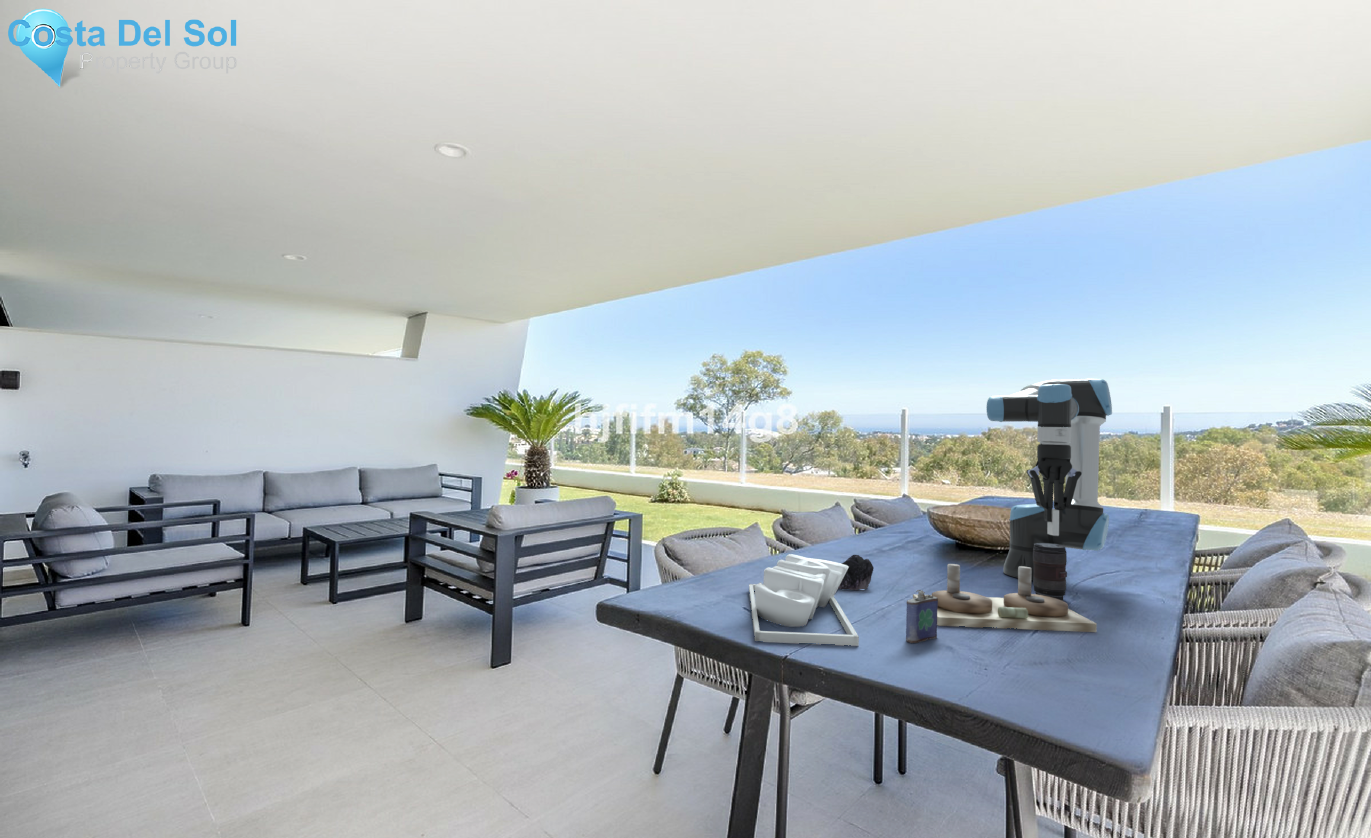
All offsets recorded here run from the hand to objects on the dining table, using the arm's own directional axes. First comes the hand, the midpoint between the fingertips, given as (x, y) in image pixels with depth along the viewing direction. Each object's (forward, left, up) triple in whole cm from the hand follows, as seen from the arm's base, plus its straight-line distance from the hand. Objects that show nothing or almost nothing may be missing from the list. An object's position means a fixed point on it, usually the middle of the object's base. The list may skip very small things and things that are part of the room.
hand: (1053, 534), depth 157 cm
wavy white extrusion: (+66, +7, -20) cm, 69 cm away
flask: (+41, +25, -20) cm, 52 cm away
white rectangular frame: (+67, +11, -20) cm, 71 cm away
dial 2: (+7, +5, -18) cm, 20 cm away
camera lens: (-6, -14, -20) cm, 25 cm away
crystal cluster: (+48, -20, -20) cm, 56 cm away
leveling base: (+16, +5, -20) cm, 26 cm away
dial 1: (+25, +5, -18) cm, 31 cm away
